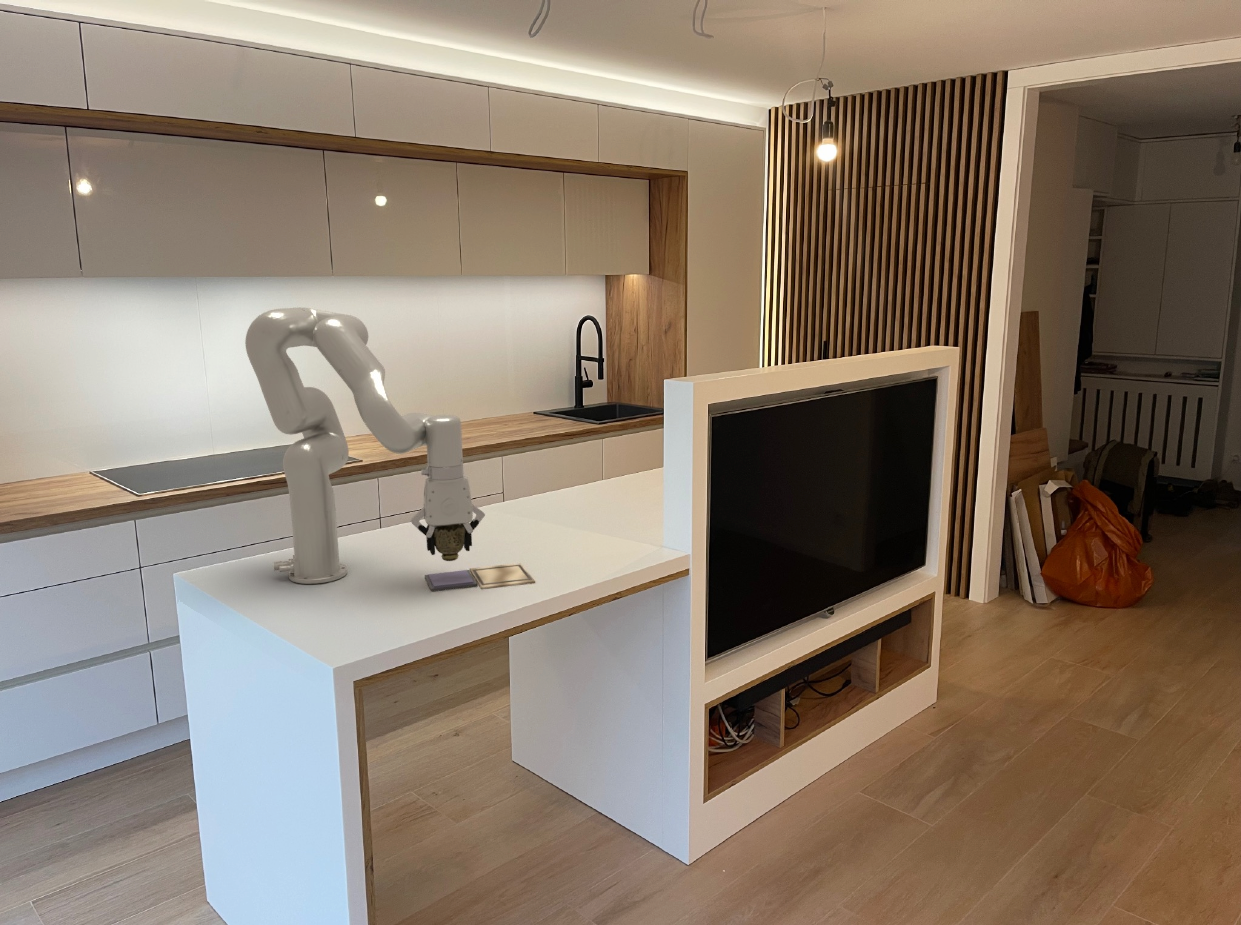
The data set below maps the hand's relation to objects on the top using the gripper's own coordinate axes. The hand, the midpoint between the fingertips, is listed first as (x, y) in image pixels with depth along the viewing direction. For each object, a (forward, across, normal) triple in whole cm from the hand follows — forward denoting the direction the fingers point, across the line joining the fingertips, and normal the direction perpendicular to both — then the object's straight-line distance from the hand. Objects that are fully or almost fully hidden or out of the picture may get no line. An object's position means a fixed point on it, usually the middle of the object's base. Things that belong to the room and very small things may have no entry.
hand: (449, 550), depth 205 cm
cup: (+2, 0, 0) cm, 2 cm away
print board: (+7, +11, 0) cm, 13 cm away
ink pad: (+7, 0, 0) cm, 7 cm away
